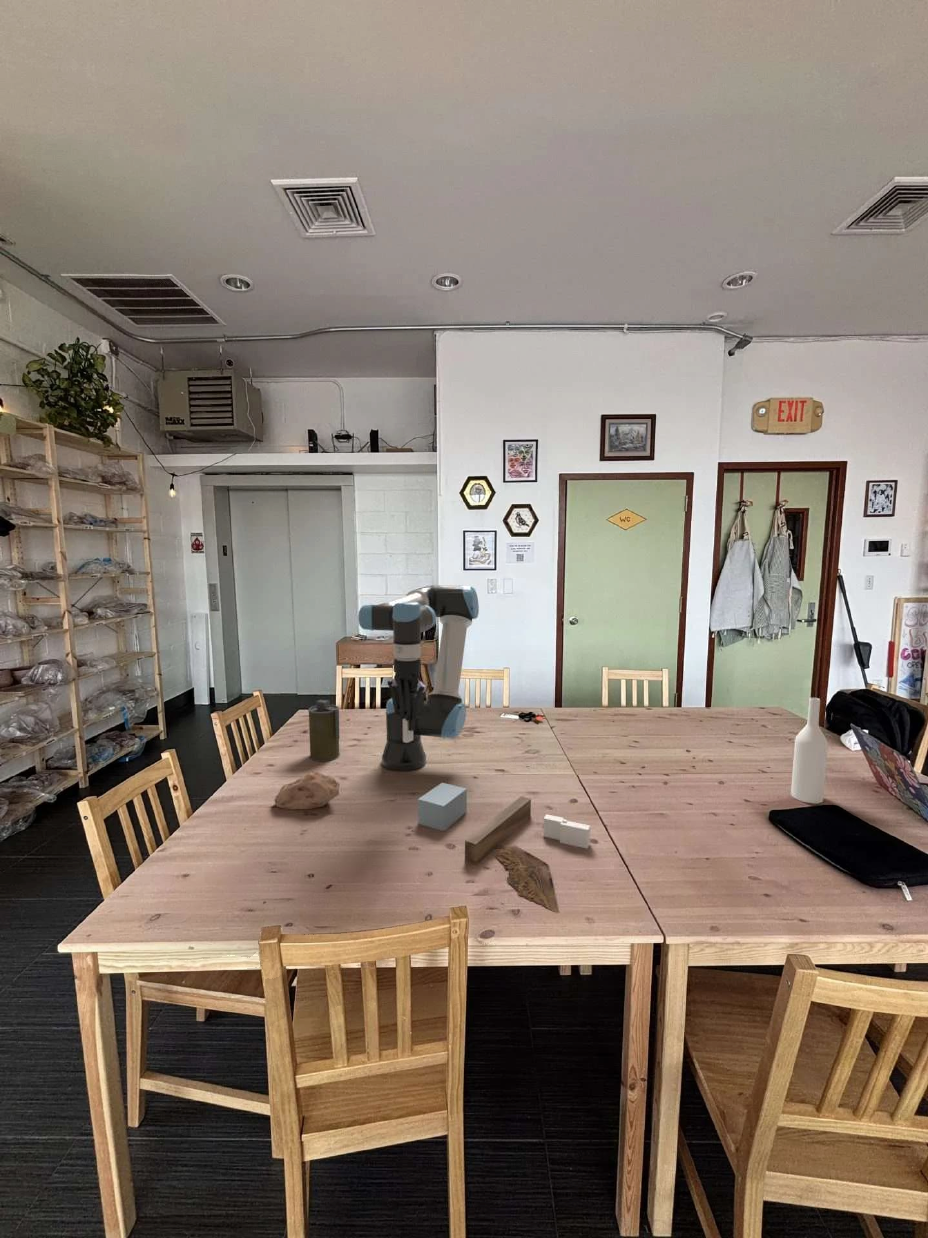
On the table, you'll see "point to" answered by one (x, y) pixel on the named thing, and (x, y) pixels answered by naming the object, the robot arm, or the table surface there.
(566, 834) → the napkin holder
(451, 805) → the block
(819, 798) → the bottle
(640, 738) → the table surface
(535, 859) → the wooden fragment
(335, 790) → the rock
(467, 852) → the stop board
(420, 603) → the robot arm
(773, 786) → the table surface
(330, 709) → the canister
